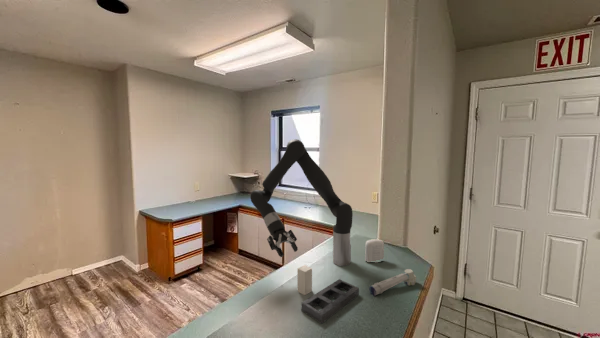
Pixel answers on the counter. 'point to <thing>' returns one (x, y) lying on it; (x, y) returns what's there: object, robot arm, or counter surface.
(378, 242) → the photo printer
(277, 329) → the counter surface
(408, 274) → the grey knobbed rod
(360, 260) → the counter surface
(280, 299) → the counter surface
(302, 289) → the peg
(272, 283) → the counter surface
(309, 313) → the grey holed base
